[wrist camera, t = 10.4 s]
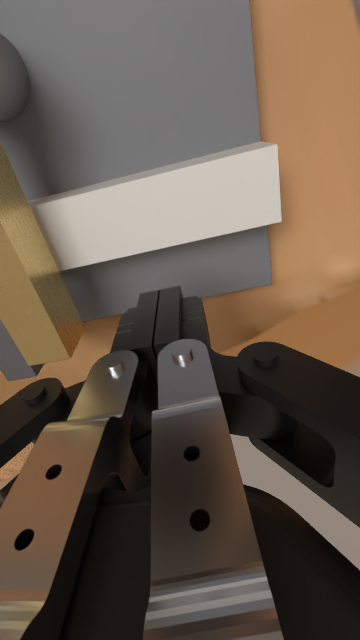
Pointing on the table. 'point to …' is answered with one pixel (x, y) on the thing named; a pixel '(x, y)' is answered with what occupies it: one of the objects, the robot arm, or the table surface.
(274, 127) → the table surface
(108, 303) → the lock board
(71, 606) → the robot arm
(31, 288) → the swing bar
